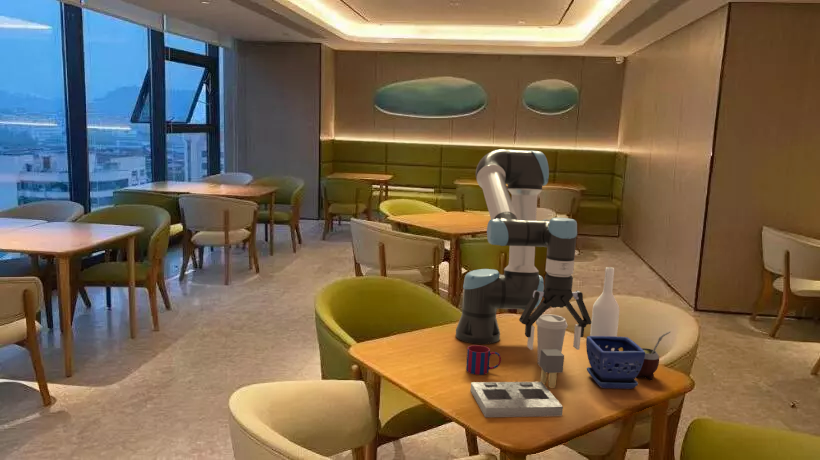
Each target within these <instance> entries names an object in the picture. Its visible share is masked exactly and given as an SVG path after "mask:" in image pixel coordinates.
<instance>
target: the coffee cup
mask: <svg viewBox="0 0 820 460" xmlns="http://www.w3.org/2000/svg"><path fill="white" fill-rule="evenodd" d="M535 325H536V326H537V327H536V328H537V332H536V333H537V337H536V339H537V340H536V341H537V344H536V346H537V365H538V366H539V367H540V355H541V349H558V350H559V351H560V352H561V353H563V352H562V351H563V346H564V340H565V334H566V330H567V328H568V326H569V325H568V323H567V320H566V318H565V317H563V316H561V315H558V314H551V313H546V314H544V313H543V314H542V315H541V316H540V317H539V318H538V319H537V320H536V321H535Z"/></svg>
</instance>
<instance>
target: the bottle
mask: <svg viewBox="0 0 820 460" xmlns="http://www.w3.org/2000/svg"><path fill="white" fill-rule="evenodd" d="M614 275H615V268H614V267H611V266H609V267H608V266H606V267H605V271H604V283H603V290H602V293H601V294H600V295H599V296H598V298H597V299H596V300H595V301H594V303H593V305H592V311H591V312H592V313H591V322H592V323H591V324H590V333H589V336H615V337H618V328H619V321H620V320H619V319H620V306H619V303H618V301H617V300H616V297H615V296H614V294H613V288H614V277H615V276H614ZM599 346H600V345H599ZM607 347H608V346H606V348H607ZM611 351H614V348H612V349H611Z"/></svg>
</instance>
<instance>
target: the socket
mask: <svg viewBox="0 0 820 460" xmlns="http://www.w3.org/2000/svg"><path fill="white" fill-rule="evenodd" d="M470 394H471V395H472V397H473V398H474V400H475V401H476V403H477V405H478V407H479V409H480V411H481V412H482V415H483V416H484V418H522V417H523V418H525V417H527V418H528V417H531V418H533V417H534V418H535V417H563V412H564V411H563V410H564V406H563V405H562V404H561V402H560V401H559V399H557V398H556V397H555V395H553V393H552V392H551V391H550V390H549V389H548V387H547V386H546V385H545V384H543V383H542V382H540V381H488V382H487V381H486V382H485V381H483V382H482V381H480V382H478V381H476V382H475V381H473V382H470Z"/></svg>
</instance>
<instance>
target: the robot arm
mask: <svg viewBox="0 0 820 460" xmlns="http://www.w3.org/2000/svg"><path fill="white" fill-rule="evenodd" d="M549 175H550V168H549V163H548V159H547V157H546V154H544V153H543V152H542V151H540V150H539V151H538V150H532V149H505V148H501V149H499V148H498V149H494V150H492V151H490V152H488V153H486V154H485V155H484V156H483V157H482V158H481V159H480V160H479V162H478V164H477V166H476V169H475V178H476V182H477V184H478V186H479V187H480V188H481V189H482V192H483V196H484V200H485V203H486V206H487V210H488V213H489V217H490V219H489V221H488V222H487V225H486V226H487V227H486V236H487V237H486V239H487V242H488V244H490V245H492V246H493V245H494V246H501V247H504V246H507V247H509V251H508V254H509V255H508V258H509V259H508V265H506V267H504V268H503V274H501V273H500V272H499V271H498V270H497V269H494V268H492V269H491V268H490V269H489V268H481V269H474V270H470V271H469V272H467V273H466V274H465V276H464V278H463V279H464V280H463V285H462V288H463V291H462V292H463V293H462V295H463V296H462V309H461V316H460V318H459V320H458V323H457V326H456V327H455V338H457V339H458V340H460V341H462V342H465V343H469V344H473V345H488V344H489V345H490V344H495V343H497V342H499V341H500V339H501V338H500V337H501V331H500V328H499V323H498V320H497V319H498V318H497V309H500V310H501V309H502V310H508V309H509V310H523V312H522V314H521V315H520V317H519V319H518V320H519V322H520V324H522V325H524V326H525V330H524V335H525V337H527V342H526V343H527V344H526V347H527V348H528V349H529V350H530V351H533V350H534V339H535V338H534V337H535V326H534V324H536V321H537V319H538V318H539V317H540V316H541V315H544V313H545V312H546V311H547V310H548V309H550V308H560V309H561V308H564V307H565V308H566V309H567V311H569V313H570V315H571V316H572V317H573V318H574V320H575V322H576V323H577V324H574V335H573V345H572V347H573V348H574V349H575V350H580V348H581V347H580V345H581V338H584V336H585V335H584V334H585V328H587V325H590V326H591V323H592V322H591V321H592V318H591V317H590V314H589V312H588V310H587V307H586V305H585V302H584V294H583V292H582V291H581V290H575V291H573V281H574V277H573V274H574V268H575V257H576V256H575V254H576V245H577V236H578V223H577V220H576V219H573V218H569V217H552V218H551V219H542V220H537V210H538V209H537V208H538V206H537V205H538V196H539V195H540V194H541V192H542V191H543V187H545V186H546V185H547V184H548V183H549V178H550V177H549ZM510 194H511V196H510ZM537 247H538V248H542V247H544V248H546V261H545V270H544V271H545V272H546V274H545V275H544V278H543V276H542V275H540V274H539V269H538V268H537V267H536V266H535V258H536V257H535V256H536V248H537ZM572 298H573V299H574V300H575V301H576V304H577V306H578V309H579V312H580V314H581V316H582V317H581V316H580V315H579V313H578V312H577V311H576V309H575V308H574V306H573V304H572V303H571V302H570V301H571V300H572ZM542 299H543V300H542Z"/></svg>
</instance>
